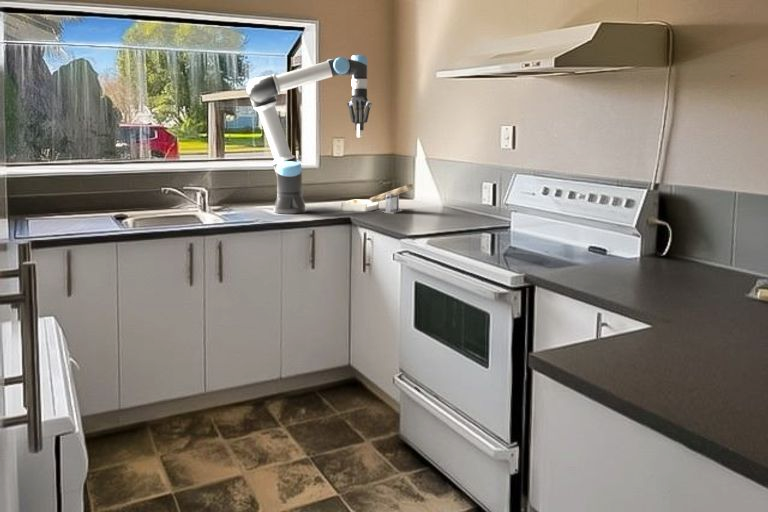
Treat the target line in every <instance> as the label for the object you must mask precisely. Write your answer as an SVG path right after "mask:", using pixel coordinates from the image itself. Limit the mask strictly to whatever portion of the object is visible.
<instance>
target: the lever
mask: <svg viewBox="0 0 768 512" xmlns="http://www.w3.org/2000/svg"><path fill="white" fill-rule="evenodd" d="M412 190H414V185H413V183H410V184H406V185H403V186H400V187H398V188H394V189H392V190H389V191H386V192H382V193H380V194H377V195H374V196H371V197H369V200H370V201H371V202H372V203H374V202H378V201H379V202H382V201H384V200H385V201H386V193H391V197H394V196H395V195H398V194H399V195H401V194H403V193H405V192H409V191H412Z"/></svg>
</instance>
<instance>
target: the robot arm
mask: <svg viewBox="0 0 768 512" xmlns="http://www.w3.org/2000/svg"><path fill="white" fill-rule="evenodd" d="M337 76H351V88H352V89H351V99H350V101H349V102H347V103H346V105H347V107H348V111H349V115H350V120H351V123H353V124H355V125H354V126H355V127H354V128H355V131H356V138H363V131H364V125H365V124H366V123H368V119H369V115H370V110H371V107H372V105H373V103H372V102H370V101H369V99H368V89H367V88H368V58H367V56H366V55H364V54H363V55H362V54H352V56H351V57H350V59H349V58H346V57H344V56H338V57H337V58H331V59H330V58H328V59H327V60H326V61H323V62H320V63H316V64H312V65H308V66H304V67H302V68H297V69H293V70H291V71H288V72H283V73H281V74H273V73H272V74H267V75H262V76H256V77H252V79H249V81H248V83H247V86H246V93H247V95H248V97H249V99H250V102H251V106H252V107H253V108H252V109H253V110H255V111H256V112H257V113H258V115H259V116H258V117H259V118H260V121H261V125H262V127H263V131H264V134H265V136H266V139H267V143H268V146H269V147H270V152H271V154H272V157H273V162H272V166H273V169H274V172H275V175H276V192H277V193H276V195H277V196H276V199H275V202H274V205H273V213H276V214H285V215H286V214H288V215H289V214H292V215H293V214H303V213H306V212H307V207H306V203H305V199H304V198H303V184H302V183H303V177H302V176H303V175H302V173H303V167H302V164H301V163H300V162H299V161H297V158H296V155H294V154H292V152H291V149H290V147H289V143H288V139H287V138H286V135H285V132H284V128H283V126H282V124H281V123H282V122H281V120H280V117H279V115H278V111H277V108H276V105H277V98H276V96H279V95H280V94H281V93H283V92H285V91H288V90H291V89H292V90H293V89H295V88H299V87H302V86H306V85H309V84H312V83H315V82H320V81H323V80H326V79H330V78H334V77H337Z"/></svg>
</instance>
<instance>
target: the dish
mask: <svg viewBox="0 0 768 512" xmlns="http://www.w3.org/2000/svg"><path fill="white" fill-rule="evenodd" d="M352 201H356V202H357V203H351V202H352ZM379 202H380V201H378V202H374V203H372V202H371V201H370V199H358V198H354V199H350V200H347V201H346V200H345V201H342V202H341V211H342V212H343V211H344V212H345V211H346V212H360V213H368V212H372V211H375V210H379V204H380V203H379Z"/></svg>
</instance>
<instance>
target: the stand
mask: <svg viewBox="0 0 768 512" xmlns="http://www.w3.org/2000/svg"><path fill="white" fill-rule="evenodd" d="M385 193H386V192H385ZM399 208H400V194H398V195H395V196H392V197H391V193H386V199H385V210H382V211H381V213H382V212H384V213H383V214H396V212H397V213H400V212H403V209H402V208H400V209H399Z"/></svg>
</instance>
